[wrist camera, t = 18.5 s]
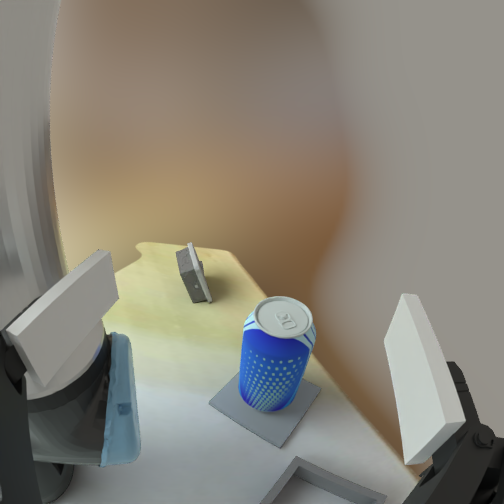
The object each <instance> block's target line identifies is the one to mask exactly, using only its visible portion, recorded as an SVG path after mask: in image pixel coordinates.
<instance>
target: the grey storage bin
mask: <svg viewBox="0 0 504 504" xmlns="http://www.w3.org/2000/svg"><path fill="white" fill-rule="evenodd" d="M292 475H295V476H297V477H299V478H301V479H303V480H305V481H307V482H309V483H311V484H313V485H315V486H317V487H319V488H321V489H324V490H326V491H328V492H330V493H333V494H335V495H337V496H339V497H342V498H344V499H347V500H349V501H352V502H354V503H357V504H384V502H385V500H386V497H387V496H386V495H383V494H381V493H378V492H375V491H373V490H370V489H367V488H365V487H362V486H360V485H358V484H355V483H353V482H350V481H348V480H346V479H343V478H341V477H339V476H337V475H334V474H332V473H330V472H328V471H326V470H324V469H322V468H319V467H317V466H315V465H313V464H311V463H309V462H307V461H305V460H303V459H301V458H299V457H298V456H296V457H295V458H294V459H293V461H292V462H291V464H290V465H289V466H288V468H287V469H286V470H285V472H284V473H283V475H282V476H281V477H280V478H279V480H278V481H277V482H276V484H275V485H274V486H273V488H272V489H271V490H270V491H269V493H268V494H267V495H266V496H265V498H264V499H263V500H262V501H261V502H260V504H271V503H272V501H273V500H274V499H275V497H276V496H277V495H278V494H279V492H280V491H281V490H282V488H283V487H284V486H285V484H286V483H287V482H288V480H289V479H290V478H291V476H292Z"/></svg>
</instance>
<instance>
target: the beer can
mask: <svg viewBox="0 0 504 504" xmlns="http://www.w3.org/2000/svg"><path fill="white" fill-rule="evenodd" d="M312 321H313V318H312V314H311V312H310V310H309V309H308V308H307V307H306V306H305V305H304V304H303V303H301V302H299V301H298V300H295V299H293V298H289V297H281V296H275V297H270V298H266V299H264V300H262V301H261V302H259V303H258V304H257V306H256V307H255V309H254V311H253V312H252V313H251V314H250V315H249V316H248V317H247V319H246V321H245V324H244V330H243V341H242V352H241V362H240V373H239V384H238V389H239V393H240V396H241V398H242V399H243V400H244V402H245V403H246V404H248V405H249V406H250V407H252V408H254V409H256V410H259V411H264V412H274V411H279V410H282V409H284V408H286V407H287V406H288V405H290V404H291V403H292V401H293V400H294V398H295V396H296V393H297V391H298V388H299V385H300V383H301V380H302V377H303V374H304V372H305V369H306V366H307V363H308V360H309V358H310V355H311V352H312V349H313V346H314V343H315V339H316V330H315V326H314V324H313V322H312Z"/></svg>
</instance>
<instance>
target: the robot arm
mask: <svg viewBox="0 0 504 504" xmlns="http://www.w3.org/2000/svg"><path fill="white" fill-rule="evenodd" d="M60 3H61V0H0V504H46V503H49V502H51V501H53V500H55V499H57V498H58V497H59V496H60V495H62V493H63V492H64V491H65V490H66V488H67V487H68V485H69V483H70V481H71V478H72V474H73V467H74V464H76V465H98V466H99V467H106V466H107V465H116V464H127V463H131V462H133V461H134V460H136V459H137V457H138V456H139V454H140V449H141V443H140V430H139V419H138V409H137V399H136V388H135V378H134V367H133V357H132V348H131V343H130V340H129V338H128V337H127V336H126V335H124V334H118V333H116V332H111V333H110V335H106V332H105V328H104V325H103V321H102V319H101V318H102V317H103V316H104V315H105V314H106V312H107V311H108V310H109V309H110V308H111V307H112V306H113V304H114V303H115V302H116V301H117V300H118V299H119V296H118V291H117V286H116V281H115V276H114V270H113V265H112V258H111V252H110V251H104V250H99V249H98V250H97V251H96V252H95V253H93V254H92V255H91V256H90V257H88V258H87V259H86V260H84V261H83V262H82V263H81V264H80V265H78V266H77V267H76V268H74V269H73V270H72V271H71V272H70V273H69V270H68V266H67V261H66V257H65V252H64V247H63V243H62V237H61V232H60V226H59V220H58V214H57V208H56V200H55V192H54V183H53V173H52V161H51V145H50V84H51V83H50V82H51V68H52V57H53V56H52V55H53V47H54V39H55V31H56V25H57V19H58V13H59V8H60ZM384 345H385V349H386V354H387V358H388V363H389V368H390V372H391V378H392V383H393V388H394V393H395V399H396V405H397V410H398V417H399V423H400V430H401V438H402V445H403V454H404V463H405V465H411V464H420V463H424V462H425V461H426V460H427V459H429V457H431V456H432V459H433V464H432V465H431V466H429V467H428V468H427V469H426V470H425V471H423V472H422V473H421V474H420V475H419V476H420V477H422V476H423V477H422V478H421V480H420V481H419V483H418V484H417V485H416V487H415V488H414V489H413V491H412V492H411V493H410V495H409V496H408V497H407V498H406V500H405V501H404V502H403V503H402V504H504V438H498V437H496V436H495V434H494V432H493V430H492V429H490V428H489V427H488V426H486V425H483V424H481V423H480V421H479V418H478V415H477V411H476V409H475V405H474V403H473V400H472V397H471V394H470V392H469V389H468V386H467V384H466V381H465V378H464V375H463V373H462V371H461V369H460V368H459V367H458V366H457V365H456V363H455V362H446V361H445V358H444V355H443V353H442V350H441V348H440V345H439V343H438V340H437V338H436V335H435V333H434V331H433V328H432V326H431V324H430V322H429V319H428V317H427V315H426V313H425V310H424V308H423V306H422V304H421V302H420V300H419V298H418V295H413V294H405V293H402V295H401V298H400V301H399V303H398V306H397V309H396V312H395V314H394V316H393V319H392V322H391V324H390V326H389V329H388V332H387V334H386V336H385V339H384Z"/></svg>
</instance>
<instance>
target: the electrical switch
mask: <svg viewBox="0 0 504 504" xmlns="http://www.w3.org/2000/svg"><path fill="white" fill-rule="evenodd" d="M176 257H177V262H178V266H179V271H180V275H181V277H182V280H183V282H184V284H185V286H186V289H187V291H188V293H189V295H190V297H191V300H192V302H193V303H196V302H199V301H203V300H207V301H208V303H209V302H212V297H211V294H210V291H209V288H208V285H207V282H206V279H205V276H204V270H203V264H202V261H199V259H198V257H197V254H196V251H195V249H194V247H193V244H192V243H188V247H187V248H185V249H182V250H180V251H177V252H176ZM182 273H183V274H182Z"/></svg>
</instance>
